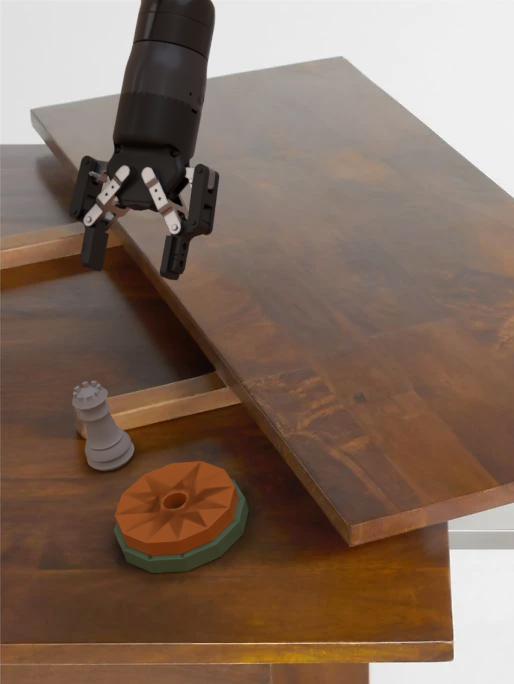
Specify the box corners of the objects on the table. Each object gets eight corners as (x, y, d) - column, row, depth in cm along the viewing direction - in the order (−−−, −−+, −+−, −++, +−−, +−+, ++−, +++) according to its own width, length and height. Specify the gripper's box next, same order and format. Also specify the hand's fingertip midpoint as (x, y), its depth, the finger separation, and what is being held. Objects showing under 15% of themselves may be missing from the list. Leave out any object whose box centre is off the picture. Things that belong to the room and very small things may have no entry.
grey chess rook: (111, 479, 125) (85, 410, 120) (78, 465, 127) (51, 396, 123) (145, 450, 127) (121, 381, 123) (113, 436, 130) (87, 369, 125)
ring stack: (106, 576, 115) (95, 550, 113) (136, 487, 123) (127, 462, 122) (234, 569, 113) (226, 542, 111) (257, 479, 122) (249, 453, 120)
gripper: (74, 85, 127) (41, 258, 126) (206, 91, 121) (173, 272, 120) (121, 111, 134) (90, 275, 133) (248, 117, 128) (217, 289, 127)
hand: (130, 274), depth 126 cm, fingers open, 8 cm apart
